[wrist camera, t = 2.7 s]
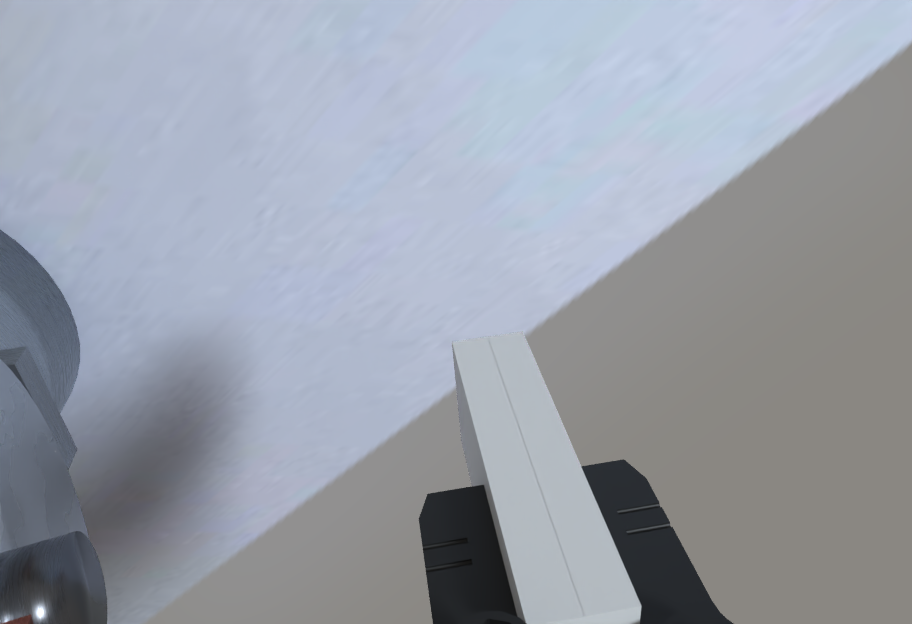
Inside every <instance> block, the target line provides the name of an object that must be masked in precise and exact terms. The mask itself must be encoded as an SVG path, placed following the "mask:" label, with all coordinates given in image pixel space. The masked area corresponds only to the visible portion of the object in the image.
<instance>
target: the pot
mask: <svg viewBox="0 0 912 624" xmlns="http://www.w3.org/2000/svg"><path fill="white" fill-rule="evenodd" d="M0 359H1V360H2V361H3V362H4V363H5V364H6V365H7V366H8V367H9V368H10V369H11V371H12V372H13V373H14V374H15V376H16V377H17V378H18V380H19V381H20V382H21V383H22V385H23V386H24V387H25V389H26V390H27V392H28V393H29V395H30V396H31V398H32V399H33V401H34V402H35V404H36V406H37V407H38V409H39V411H40V412H41V414H42V416H43V418H44V420H45V421H46V423H47V425H48V427H49V429H50V431H51V433H52V435H53V437H54V439H55V441H56V444H57V446H58V448H59V450H60V452H61V454H62V457H63V459H64V462H65V464H66V467H67V469H69V467H70V465H71V462H72V460H73V458H74V456H75V454H76V451H77V448H76V446H75V443H74V441H73V439H72V437H71V435H70V433H69V431H68V429H67V427H66V425H65V423H64V421H63V419H62V417H61V415H60V413H61V411H62V409H63V407H64V405H65V403H66V401H67V399H68V398H69V396H70V394H71V392H72V389H73V387H74V384H75V381H76V378H77V375H78V369H79V363H80V343H79V338H78V332H77V327H76V324H75V321H74V318H73V315H72V313H71V310H70V308H69V306H68V304H67V302H66V300H65V298H64V296H63V294H62V292H61V291H60V289H59V288H58V287H57V285H56V284H55V282H54V281H53V279H52V278H51V276H50V275H49V274H48V273H47V272H46V270H45V269H44V268H43V267H42V266H41V265H40V264H39V263H38V261H37V260H36V259H35V258H34V257H33V256H32V255H31V254H30V253H28V252H27V251H26V250H25V249H24V248H23V247H22V246H21V245H20V244H18V243H17V242H16V241H15V240H14V239H12V238H11V237H10V236H8V235H7V234H5V233H4V232H3V231H1V230H0Z"/></svg>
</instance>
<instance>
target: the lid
mask: <svg viewBox="0 0 912 624" xmlns="http://www.w3.org/2000/svg"><path fill="white" fill-rule="evenodd" d="M0 624H107V598H106V589H105V583H104V578H103V574H102V569H101V566H100V563H99V560H98V557H97V554H96V552H95V549H94V547H93V545H92V544H91V542H90V540H89V536H88V532H87V528H86V525H85V521H84V518H83V514H82V511H81V507H80V504H79V500H78V498H77V495H76V492H75V489H74V486H73V483H72V480H71V477H70V474H69V472H68V469H67V467H66V464H65V462H64V459H63V457H62V454H61V452H60V450H59V448H58V446H57V444H56V441H55V439H54V437H53V435H52V433H51V431H50V429H49V427H48V425H47V423H46V421H45V420H44V418H43V416H42V414H41V412H40V411H39V409H38V407H37V406H36V404H35V402H34V401H33V399H32V398H31V396H30V395H29V393H28V392H27V390H26V389H25V387H24V386H23V385H22V383H21V382H20V381H19V380H18V378H17V377H16V376H15V374H14V373H13V372H12V371H11V369H10V368H9V367H8V366H7V365H6V364H5V363H4V362H3V361H2V360H1V359H0Z"/></svg>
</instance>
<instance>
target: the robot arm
mask: <svg viewBox="0 0 912 624" xmlns="http://www.w3.org/2000/svg"><path fill="white" fill-rule="evenodd" d="M452 348H453V358H454V369H455V379H456V390H457V400H458V411H459V422H460V432H461V441H462V446H463V450H464V454H465V458H466V463H467V467H468V472H469V476H470V480H471V484H472V487H466V488H461V489H455V490H448V491H443V492H437V493H431V494H427V497H426V500H425V503H424V506H423V509H422V512H421V514H420V517H419V523H420V530H421V538H422V545H423V553H424V560H425V567H426V575H427V582H428V589H429V597H430V604H431V612H432V619H433V624H733V623H732V622H730V621H729V620H727V619H726V618H725V617H724V616H723V615H722V614H721V613H720V612H719V610H718V609H717V607H716V606H715V605H714V603H713V602H712V600H711V598H710V596H709V594H708V593H707V591H706V589H705V587H704V585H703V583H702V582H701V580H700V578H699V576H698V574H697V572H696V570H695V568H694V566H693V565H692V563H691V561H690V559H689V557H688V555H687V554H686V552H685V550H684V548H683V546H682V544H681V542H680V540H679V539H678V537H677V535H676V533H675V531H674V529H673V527H671V526H670V522H669V520H668V518H667V516H666V514H665V513H664V511H663V509H662V507H660V505H659V501H658V500H657V497H656V496H655V494H654V492H653V490H652V488H651V486H650V484H649V482H648V481H647V479H646V478H645V477H644V476H643V475H641V474H640V473H639V472H638V471H637V470H636V469H635V468H633V467H632V466H631V465H630V464H628V463H627V462H626V461H625V460H618V461H612V462H606V463H600V464H594V465H588V466H582V467H581V465H580V463H579V460H578V458H577V456H576V453H575V451H574V449H573V447H572V444H571V442H570V440H569V437H568V435H567V433H566V430H565V428H564V426H563V424H562V421H561V419H560V416H559V414H558V412H557V410H556V407H555V405H554V403H553V400H552V398H551V396H550V393H549V391H548V389H547V386H546V384H545V382H544V380H543V377H542V375H541V373H540V370H539V368H538V366H537V364H536V361H535V359H534V356H533V354H532V352H531V349H530V347H529V345H528V343H527V340H526V338H525V336H524V333H523V331H522V332H515V333H509V334H502V335H495V336H488V337H482V338H475V339H468V340H461V341H455V342H452Z"/></svg>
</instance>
